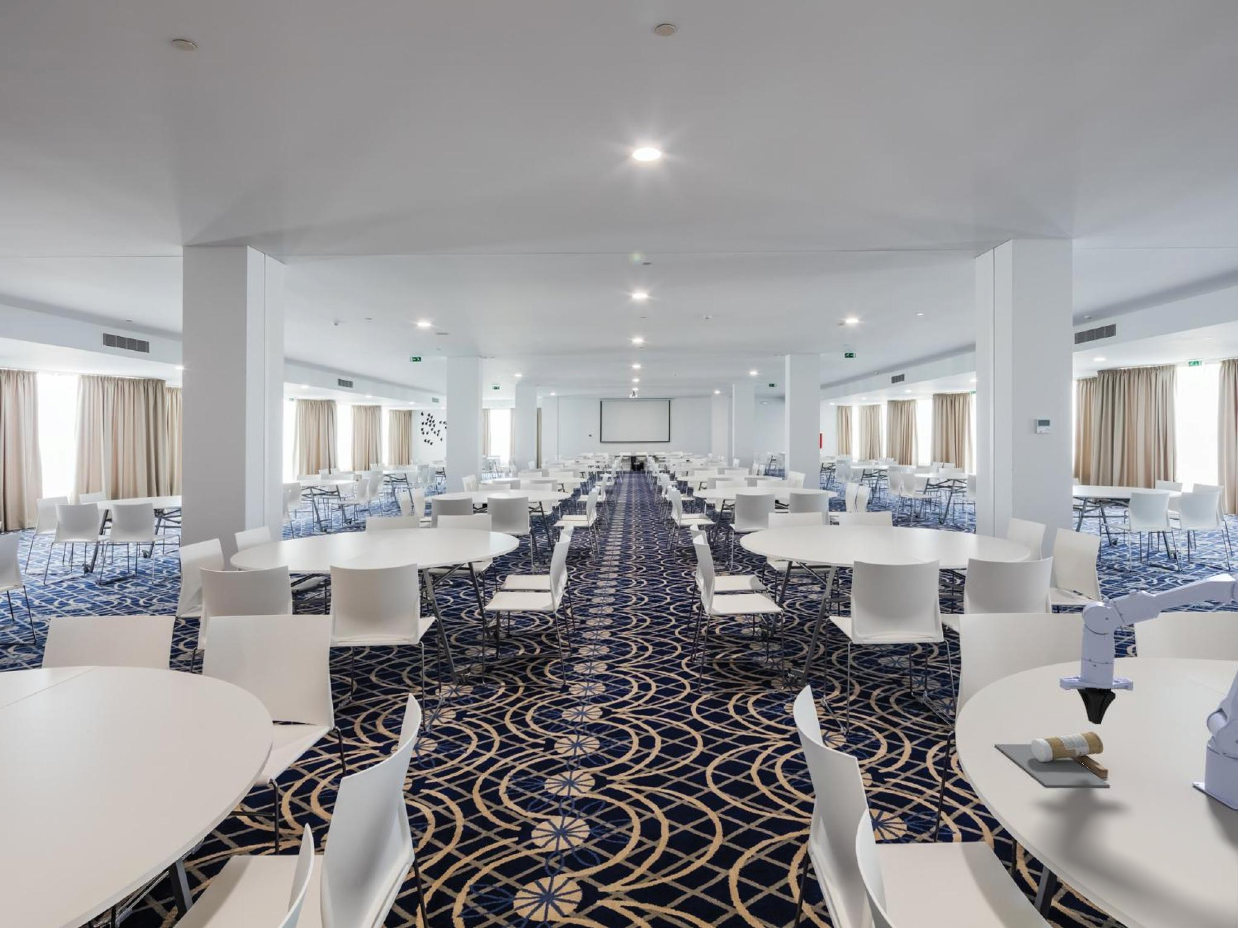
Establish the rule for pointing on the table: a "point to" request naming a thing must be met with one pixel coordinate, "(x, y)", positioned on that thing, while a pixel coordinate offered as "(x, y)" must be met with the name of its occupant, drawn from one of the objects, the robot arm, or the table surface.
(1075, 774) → the rubber mat
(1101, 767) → the walnut rail
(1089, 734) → the sprinkles bottle
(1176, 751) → the table surface
